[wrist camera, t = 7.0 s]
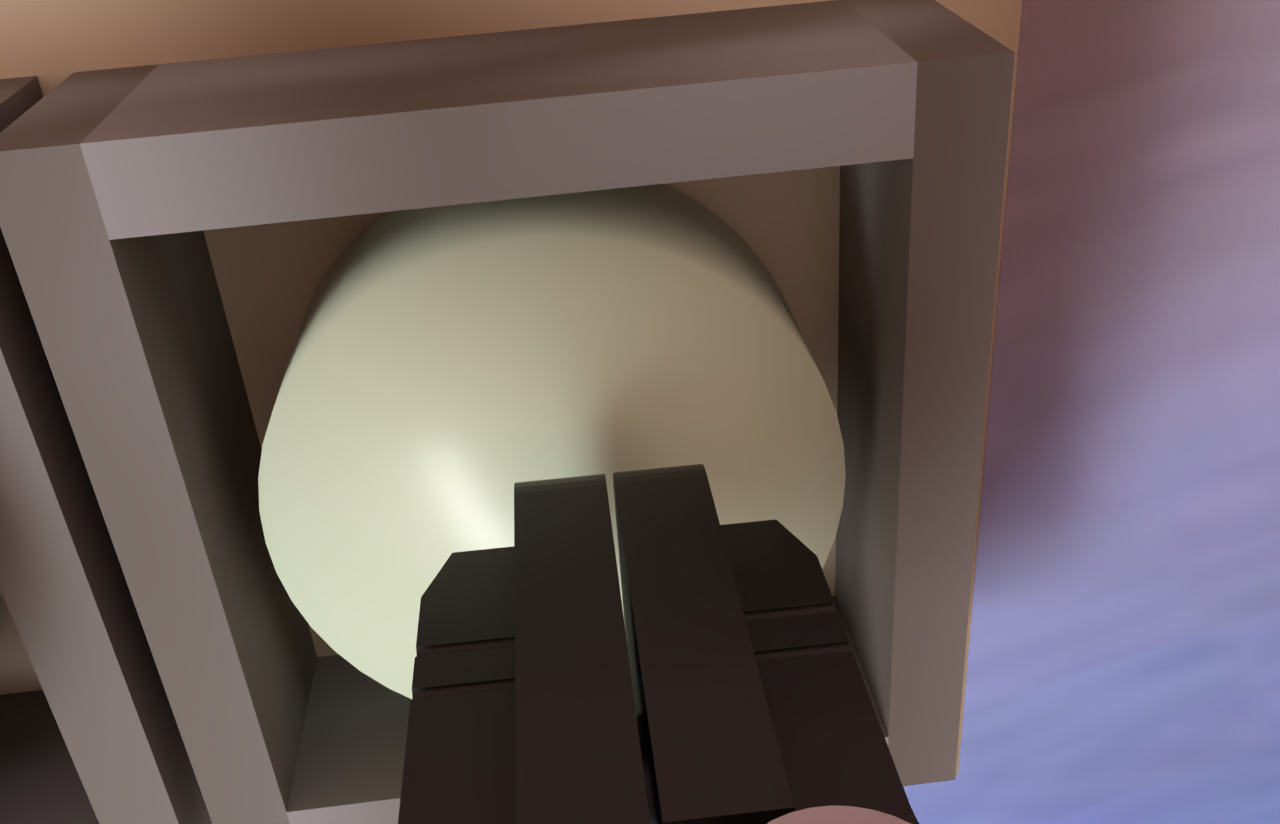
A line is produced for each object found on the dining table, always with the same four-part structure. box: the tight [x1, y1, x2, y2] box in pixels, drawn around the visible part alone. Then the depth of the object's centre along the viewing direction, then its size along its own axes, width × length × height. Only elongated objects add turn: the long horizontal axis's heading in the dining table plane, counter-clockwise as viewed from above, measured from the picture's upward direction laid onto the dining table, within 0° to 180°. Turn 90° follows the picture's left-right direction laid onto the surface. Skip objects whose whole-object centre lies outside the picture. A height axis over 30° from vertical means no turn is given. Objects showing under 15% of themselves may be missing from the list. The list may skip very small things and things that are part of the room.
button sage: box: [258, 184, 846, 699], centre depth 11 cm, size 5×5×2 cm
